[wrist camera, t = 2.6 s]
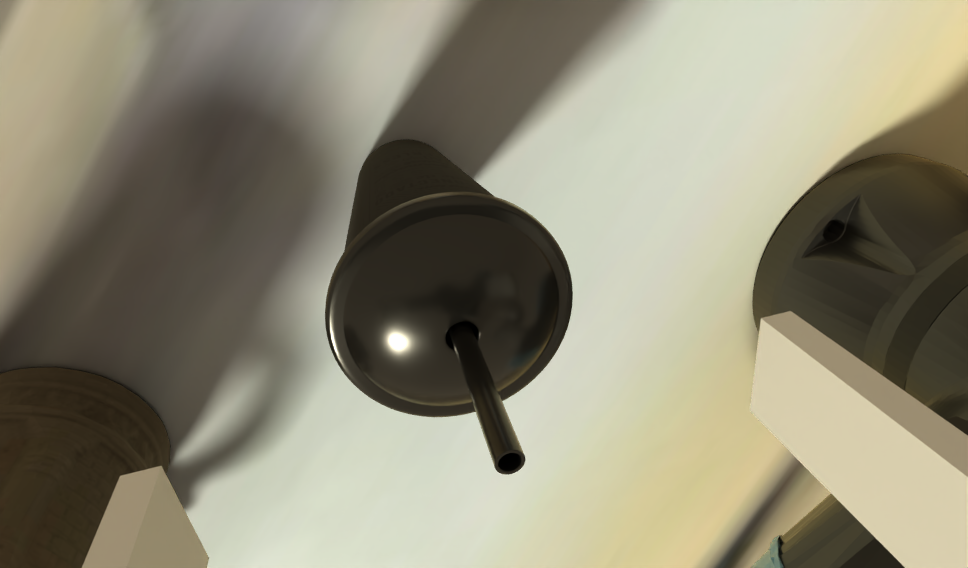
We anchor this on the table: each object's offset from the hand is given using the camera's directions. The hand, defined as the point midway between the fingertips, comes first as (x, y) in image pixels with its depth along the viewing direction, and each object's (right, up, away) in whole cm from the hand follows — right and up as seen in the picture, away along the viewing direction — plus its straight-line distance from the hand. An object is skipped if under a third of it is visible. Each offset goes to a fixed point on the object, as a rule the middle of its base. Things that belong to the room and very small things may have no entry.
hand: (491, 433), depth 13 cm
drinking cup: (-4, +8, +17) cm, 19 cm away
